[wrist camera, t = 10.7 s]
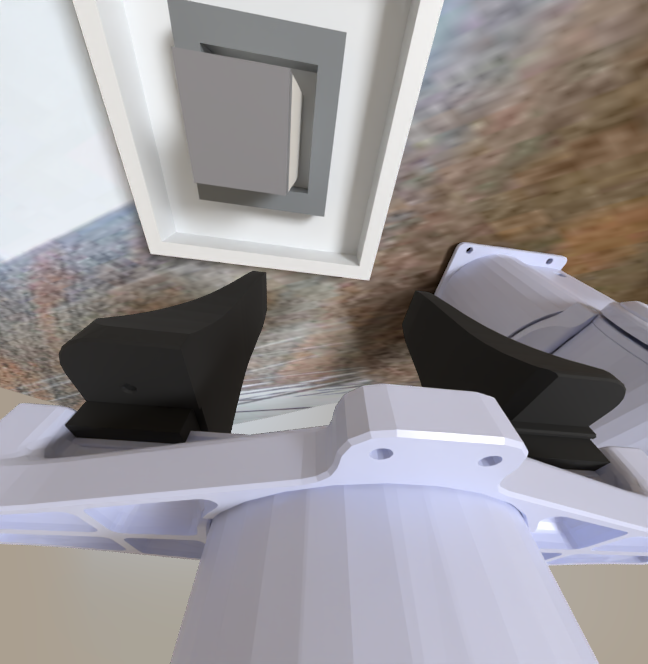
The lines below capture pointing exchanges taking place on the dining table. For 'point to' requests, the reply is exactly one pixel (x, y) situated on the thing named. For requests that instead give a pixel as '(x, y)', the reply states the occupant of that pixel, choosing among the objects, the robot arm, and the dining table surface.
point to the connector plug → (240, 121)
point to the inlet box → (316, 131)
